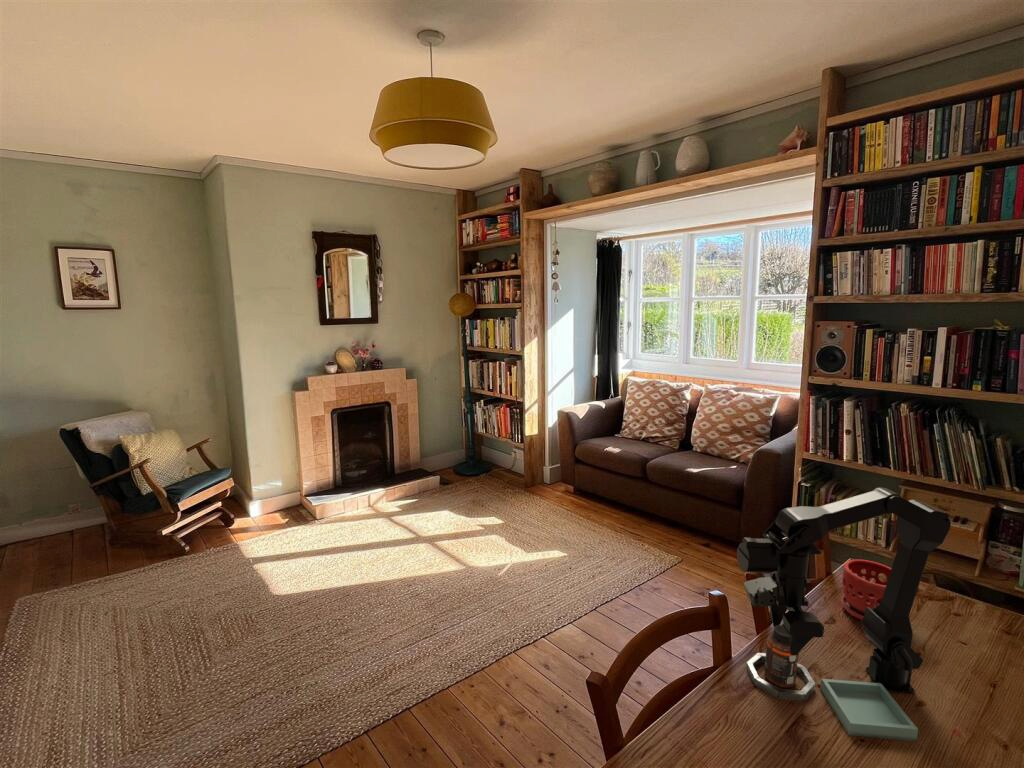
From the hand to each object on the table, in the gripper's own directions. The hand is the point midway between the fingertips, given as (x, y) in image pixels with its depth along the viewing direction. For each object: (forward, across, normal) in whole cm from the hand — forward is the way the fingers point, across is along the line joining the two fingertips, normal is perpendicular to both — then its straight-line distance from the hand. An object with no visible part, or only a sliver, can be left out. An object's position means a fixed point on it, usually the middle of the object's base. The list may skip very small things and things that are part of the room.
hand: (784, 640), depth 111 cm
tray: (+9, +8, +13) cm, 18 cm away
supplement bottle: (+9, 0, 0) cm, 9 cm away
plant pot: (+10, -27, +32) cm, 43 cm away
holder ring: (+9, 0, 0) cm, 9 cm away
